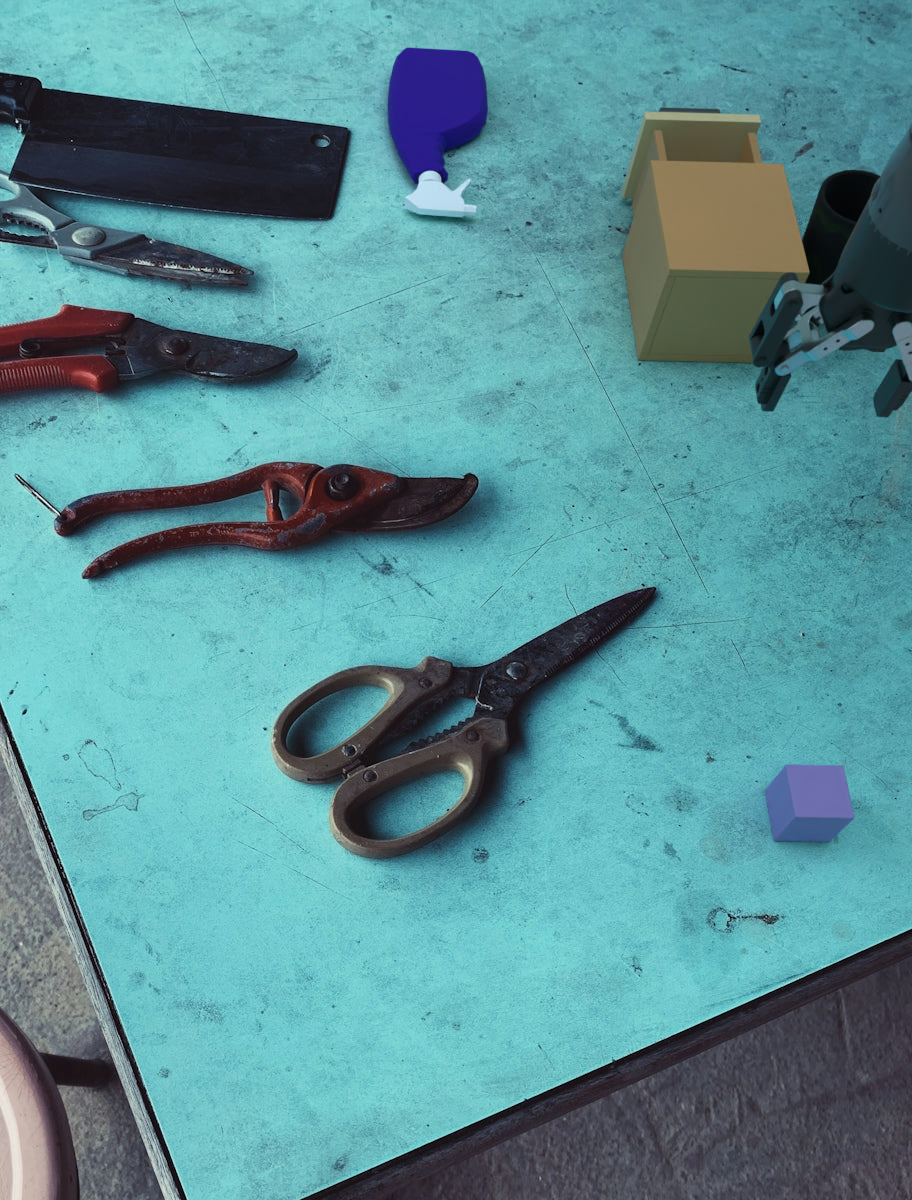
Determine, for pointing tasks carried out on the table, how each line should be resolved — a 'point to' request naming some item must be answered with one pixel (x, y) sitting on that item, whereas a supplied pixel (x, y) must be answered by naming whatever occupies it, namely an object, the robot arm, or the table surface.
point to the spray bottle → (435, 121)
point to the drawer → (690, 141)
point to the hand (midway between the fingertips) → (822, 406)
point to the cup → (834, 221)
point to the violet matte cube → (809, 803)
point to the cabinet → (708, 257)
